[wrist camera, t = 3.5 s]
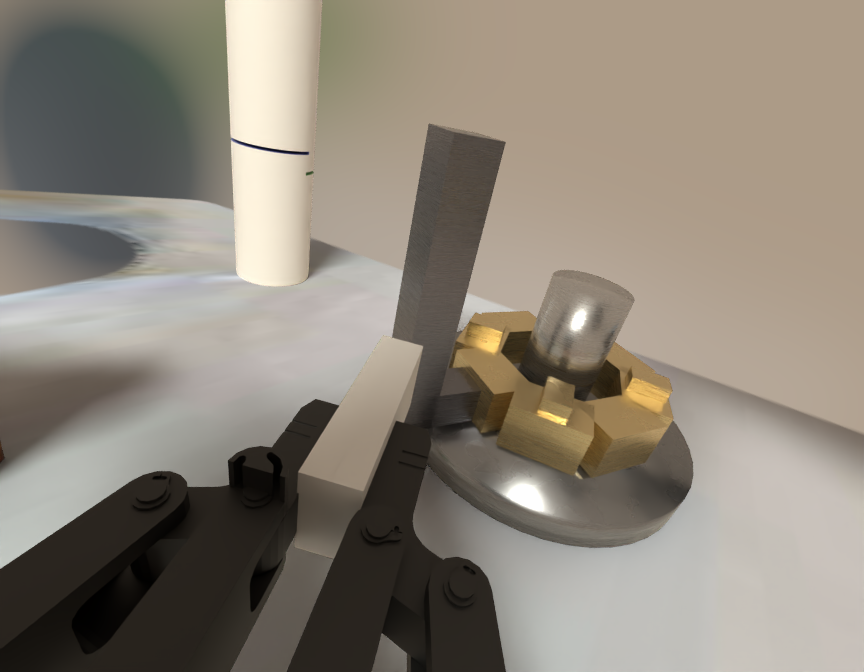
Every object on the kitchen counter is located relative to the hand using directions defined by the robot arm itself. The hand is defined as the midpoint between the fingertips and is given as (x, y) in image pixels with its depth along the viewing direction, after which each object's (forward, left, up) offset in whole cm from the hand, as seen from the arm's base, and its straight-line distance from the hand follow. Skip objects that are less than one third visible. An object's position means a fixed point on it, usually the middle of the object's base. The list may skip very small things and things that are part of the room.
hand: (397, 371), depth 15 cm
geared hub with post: (-7, -11, -8) cm, 15 cm away
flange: (-9, -13, -10) cm, 19 cm away
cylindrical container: (+19, -26, -10) cm, 34 cm away
